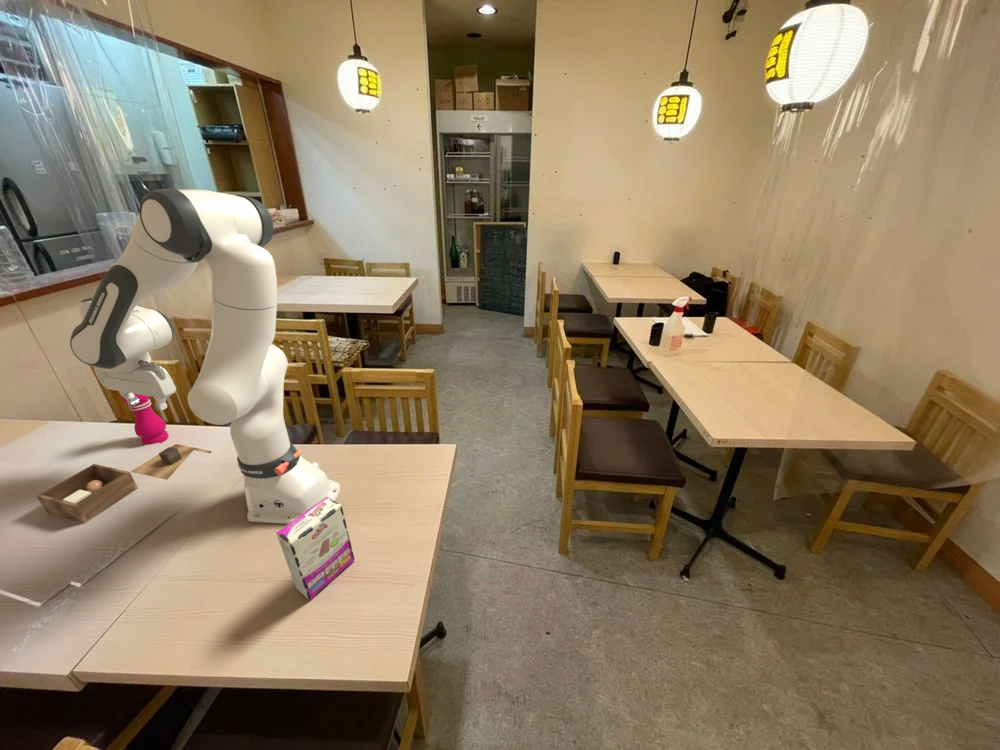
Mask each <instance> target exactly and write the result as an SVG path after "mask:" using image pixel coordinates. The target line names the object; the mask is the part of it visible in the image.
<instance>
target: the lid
mask: <svg viewBox="0 0 1000 750" xmlns="http://www.w3.org/2000/svg"><path fill="white" fill-rule="evenodd" d="M194 451H196V452H197V451H198V452H202V453H208V454H212V450H208V449H203V448H198V447H193V446H187V445H184V444H183V445H182V444H177V443H175V444H173V445H172V446H168V447H167V448H165V449H163V450H162V451H160V452H158V454H157V455H156V456H154V457H152V458H151V459H149V460H148V461H146V462H144V463H142V464H141V465H139V466H138V467H136V468H134V469H133V470H131V471H130V473H135V474H139V475H145V476H149V477H153V478H158V479H162V480H166V481H167V480H169V478H170V477H171V476H172V475H173V474H174V473H175V472H176V470H177V469H179V467H180V466H181V465H182V463H184V462H185V461H186V460H187V459H188V457H189V456H190V455H191V454H192V453H193V452H194Z"/></svg>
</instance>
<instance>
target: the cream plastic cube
mask: <svg viewBox="0 0 1000 750" xmlns="http://www.w3.org/2000/svg"><path fill="white" fill-rule="evenodd" d="M90 494H92V493H91V492H88V491H84V490H78V491H76V492H75V493H73V494H71V495H70V496H68V497H66V498H65V499H63V500H64V501H67V502H71V503H75V504H76V503H77V502H79V501H81V500H82V499H84V498H86V497H87V496H89V495H90Z"/></svg>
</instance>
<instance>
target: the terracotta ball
mask: <svg viewBox="0 0 1000 750" xmlns="http://www.w3.org/2000/svg"><path fill="white" fill-rule="evenodd" d="M102 487H104V484H103V482H102V481H100V480H93V481H91V482H89V483H88V484H87V485H86V490H87V491H88V492H91V493H94V492H95V491H97V490H99V489H100V488H102Z"/></svg>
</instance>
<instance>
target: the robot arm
mask: <svg viewBox="0 0 1000 750" xmlns="http://www.w3.org/2000/svg"><path fill="white" fill-rule="evenodd" d="M274 230H275V229H274V221H273V218H272V215H271V213H270V211H269V210H268V208H267V207H266V206H265V205H264V204H263V203H262V202H260V201H258V200H257V199H255V198H253V197H249V196H246V195H242V194H231V193H225V192H224V193H223V192H217V191H213V190H208V189H193V188H192V189H176V188H171V187H169V188H168V187H167V188H159V189H155V190H151V191H148V192H146V193H145V194H144V195H143V197H142V198H141V202H140V204H139V213H138V214H137V217H136V220H135V223H134V225H133V228H132V232H131V236H130V239H129V241H128V244H127V246H126V247H125V249H124V251H123V252H122V254H121V255H120V257H119V258H118V259H117V260H116V262H114V264H113V265H112V266H111V267H110V268H109V269H108V270H107V271H106V272H105V274H104V275H103V277H102V278H101V280H100V282H99V284H98V287H97V288H96V291H95V293H94V295H93V296H92V297H88V298H84V299H82V300H81V301H80V302H79V303H78V309H79V314H80V317H81V320H82V321H81V322H80V323H79V324H78V325H77V326H75V327H74V328H73V331H72V333H71V336H70V339H69V340H70V341H69V345H70V349H71V351H72V353H73V355H74V356H75V357H76V358H77V359H78V361H80V362H81V363H83V364H85V365H88V366H91V367H93V370H94V373H95V375H96V376H97V379H98V380H99V382H100V383H101V385H102V386H103V387H104V388H105V389H107V390H111V391H117V392H118V393H119V395H120V396H121V397H122V396H123V397H124V398H125V399H126V400H127V402H128V405H136V404H138V403H139V400H138V397H135V396H134V394H140V395H146V396H149V397H153V399H154V400H156V403H154V406H155V408H156V410H158V411H159V410H160V411H164V410H165V409H167V408H168V404H167V402H166V401H167V398H168V397H170V396H172V395H174V394H175V393H176V391H177V387H176V385H175V383H174V381H173V379H172V377H171V376H170V373H169V372H168V370H167V369H165V368H164V367H163V366H160V365H159V364H158V362H155V361H152V360H153V359H152V357H151V355H150V352H152V351H154V350H157V349H159V348H162V347H164V346H166V345H168V344H169V343H172V341H173V339H174V334H175V333H174V332H175V331H174V327H173V324H172V322H171V320H170V319H169V317H167V315H165V314H164V313H163V312H162V311H160V310H157V309H154V308H151V307H150V308H148V307H147V308H146V307H142V306H139V305H140V304H141V303H143V302H144V301H145V300H147V299H149V298H152V297H153V296H155V295H157V294H160V293H161V292H163V291H167V290H168V289H172V288H173V287H176V286H178V285H180V284H182V283H184V282H185V281H187V280H188V279H189V278H190V277H191V275H192V274H193V273H194V271H195V270H196V268H197V266H198V264H199V262H201V261H202V260H204V261H205V262H206V263H207V264H208V265H207V266H209V269H211V276H212V281H211V282H212V284H211V331H210V336H209V337H210V338H209V341H208V345H207V349H206V352H205V356H204V359H203V363H202V365H201V368H200V372H199V374H198V376H197V378H196V380H195V382H194V383H193V386H192V387H191V388H190V391H189V392H188V394H187V403H188V405H189V408H190V411H192V413H193V414H194V415H195V416H196V417H197V418H199V419H200V420H201V421H204V422H206V423H208V424H212V425H219V426H220V425H221V426H223V425H227V424H230V428H229V431H230V432H229V433H230V437H231V441H232V443H233V446H234V449H235V451H236V454H237V458H236V460H237V465H238V468H239V470H240V472H241V475H243V481H244V493H245V494H244V495H245V500H246V508H247V510H248V511H247V515H246V518H247V521H248V522H251V523H269V524H284V525H287V524H289V523H290V522H292V521H293V520H294V519H296V518H297V517H299V516H300V515H301V514H303V513H304V512H306V511H307V510H308V509H310V508H311V507H313V506H314V505H315V504H317V503H318V502H320V501H321V500H322V499H324V498H325V497H326V496H327V497H329V498H330V499H331V500H333V501H335V502H336V500H337V498H338V496H339V494H340V492H341V485H340V483H339V482H336V481H334V480H332V479H330V478H328V476H327V474H326V473H325V472H324V470H322V469H321V468H320V465H319V464H318V462H314V461H313V462H312V463H311V462H310V461H309V460H307V459H305V458H304V457H303V456H301V454H302V453H303V452H302V449H301V448H300V449H298V450H297V449H296V447H295V445H294V444H293V442H292V441H291V440H290V438H289V434H288V431H287V430H288V429H287V427H286V422H285V416H284V390H285V389H284V384H285V377H286V372H287V370H288V367H289V366H288V365H289V362H288V358H287V356H286V354H285V353H284V352H283V351H282V350H281V349H280V348H279V347H278V346H276V345H275V344H272V343H274V339H275V337H276V327H277V312H278V310H277V309H278V278H277V270H276V264H275V260H274V258H273V256H272V254H271V253H270V252H269V251H268V250H267V249H265V248H263V247H266V245H268V244H269V243H270V242H271V240H272V239H273V236H274ZM133 393H134V394H133Z"/></svg>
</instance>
